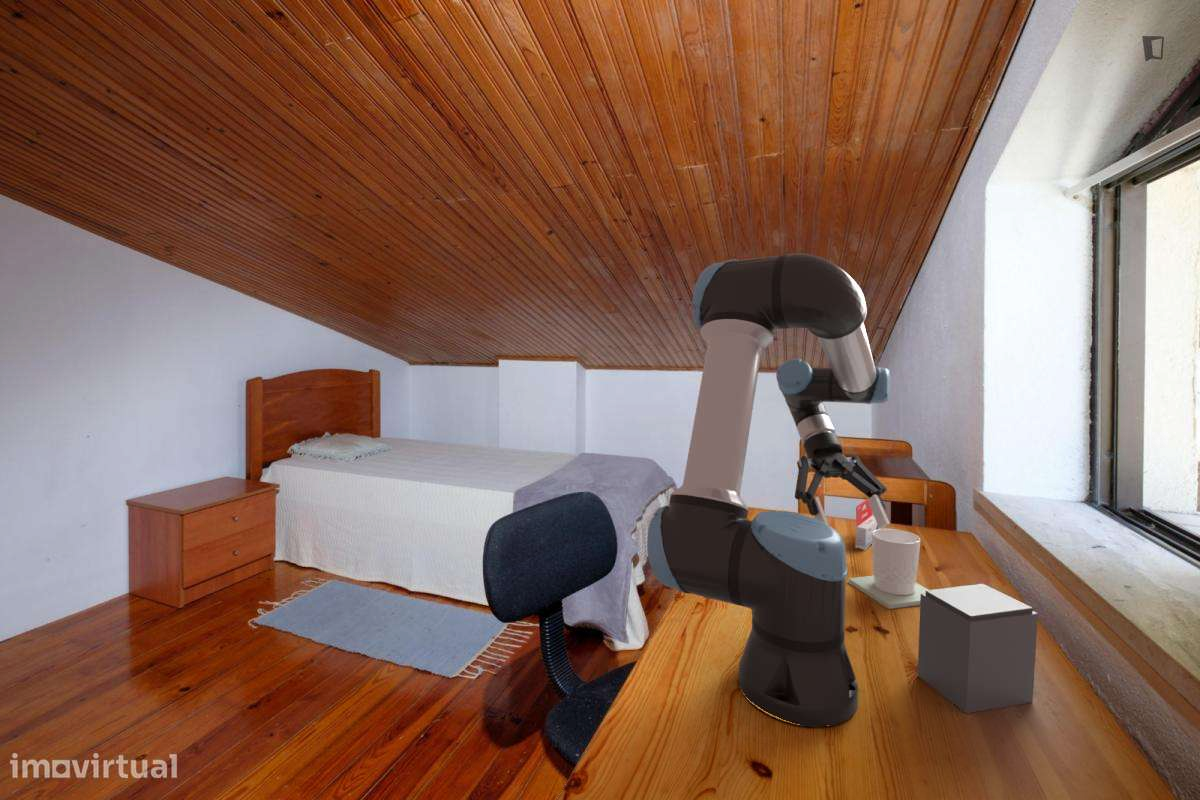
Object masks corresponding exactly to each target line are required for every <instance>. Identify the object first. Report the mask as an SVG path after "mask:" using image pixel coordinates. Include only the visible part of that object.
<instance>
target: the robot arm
mask: <svg viewBox="0 0 1200 800" xmlns="http://www.w3.org/2000/svg"><path fill="white" fill-rule="evenodd" d="M694 285H695V286H694V289H693V295H692V301H691V302H692V303H691V304H692V305H693V309H692V315H693V316H692V318H693V321H694V324H695V325H696V327H697V328H698V329H699V330H700V336H701V338H703V340H704V341H705V343H707V346H706V353H705V357H704V358H705V359H704V363H703V369H702V374H701V380H700V386H699V391H698V396H697V397H698V398H697V403H696V408H695V414H694V419H693V425H692V431H691V437H690V442H689V443H690V444H689V448H688V454H687V460H686V466H685V470H684V475H683V481H682V484H681V486H679V487H678V488H677V489H675V490H674V491H672V492H671V493H670V496H669V501H668V502H669V503H668V505H663V506H661V507H659V508H657V509H656V510H655V512H654V513H653V516H652V517H651V519H650V521H649V526H648V530H647V539H646V541H647V543H646V549H647V558H648V563H649V565H650V568H651V571H652V574H653V576H654V577H655V579H656V580H657V581H658V582H659V583H660V584H662V585H664V586H665V587H668V588H671V589H675V590H678V591H680V592H681V593H684V594H688V595H689V594H690V595H691V594H692V595H695V596H700V597H703V598H708V599H712V600H715V601H720V602H724V603H728V604H731V605H736V606H740V607H744V608H747V609H750V610H751V630H750V632H749V636H748V637H747V641H746V644H745V647H744V650H743V652H742V656H741V658H740V661H739V663H738V685H739V684H740V686H739V688H740V687H741V689H742V691H743V693H744V694H745V696H746V697H747V698H748V699H749V700H750V701H751V702H753V703H754V704H755V705H757V706H758V707H760V708H761V709H763V710H764V711H766V712H768V713H770V714H772V715H774V716H777V717H779V718H781V719H783V720H786V721H789V722H792V723H795V724H800V725H803V726H802V727H804V726H811V727H810V728H814V727H813V726H816V727H815V728H818V727H817V726H827V725H834V724H837V725H839V724H838V723H840V722H842V721H845V720H846V721H848V720H849V719H851V718H852V717H853V716H854V715H855V713H856V711H857V710H858V704H859V687H858V685H859V684H858V681H857V679H856V674H855V672H854V668H853V666H852V663H851V659H850V655H849V653H848V649H847V648H846V647H847V646H846V644H845V632H846V631H845V626H846V624H845V622H846V590H847V589H846V585H847V584H846V583H847V577H848V574H849V573H848V572H849V570H848V565H847V555H846V544H845V541H844V538H843V537H842V535H841V534H840V533H839V532H838V531H837V529H835V528H833V527H831V526H830V524H829V522H828V519H827V516H826V514H825V511H824V508H823V506H822V503H821V500H820V498H819V496H815V494H816V493H817V491H818V488H819V486H820V485H821V484H820V483H821V482H822V480H823V478H825V479H830V478H837V479H838V478H840V479H842V480H844V481H847V482H848V483H850V484H851V485H852V486H854V487H855V488H856V489H857V490H859V491H860V492H861V493H862V494H864V495H865V496H867V497H868V498H869V499H868V498H867V499H868V500H867V499H866V500H867V501H868V503H869V506H870V508H871V510H872V516H874V517H875V520H876V522H877V524H878V527H879V529H885V527H886V528H887V526H888V525H890V524H891V522H890V521H889V517H888V516H887V514H886V511H885V510H886V506H885V503H884V501H883V499H882V495H883V494H885V493H886V492H887V491H888V490H887V487H886V486H885V485H884V484H883V483H882V482H881V481H880V480H879V479H878V478H877V477H876V475H874V474H873V473H872V472H871V471H870V470H869V469H868V468H867V467H866V466H865V465H864V464H863V463H862V460H861V458H860V456H858V454H853V455H852V456H850V457H849V456H848V457H847V456H845V455H844V453H843V447H842V444H841V441H840V439H839V438H838V435H837V434H836V429H835V427H834V425H833V423H832V421H831V419H830V416H829V414H828V411H827V410H826V407H825V405H824V402H825V403H847V404H865V405H871V404H885V403H886V402H888V401H889V399H890V395H891V394H890V393H891V372H890V370H889V368H886V367H880V366H876V365H875V362H874V359H873V355H872V350H871V347H870V343H869V338H868V335H867V331H866V327H865V324H864V322H865V320H866V317H867V313H868V312H867V311H868V309H867V308H868V307H867V303H866V299H865V296H864V293H863V291H862V288H861V287H860V286H859V284H857V281H855V279H853V277H852V276H850V275H849V273H847V272H846V271H845V270H843V268H842V267H840V266H838V265H837V264H835V263H833V262H832V261H829V260H827V259H825V258H823V257H820V256H817V255H814V254H810V253H800V252H797V253H788V254H782V255H772V256H765V257H764V256H763V257H757V258H749V259H747V258H746V259H740V260H739V259H736V258H735V259H727V260H726V261H720V262H714V263H712V264H710V265H708V266H707V267H705V268H704V269H703V271H702V272H701V273H700V274H699V276H698V278H697V280H696V283H695V284H694ZM781 329H783V330H784V329H785V330H786V329H807V330H808V331H809V332H810V333H811V334H812V335H813V336H815V337H817V339H818V340H819V343H820V346H821V347H822V350H823V352H824V355H825V357H826V359H827V361H828V363H829V366H828V367H825V366H821V367H820V366H819V367H817V366H816V367H815V366H814V367H813V366H812V367H811V365H810V364H809V363H808V362H807V361H806V360H803V359H800V358H791V359H787V360H786V361H784V362H782V363H781V365H780V366H778V369H777V371H776V381H777V385H778V389H779V390H780V392H781V393H782V396H783V398H784V400H785V403H786V405H787V407H788V410H789V412H790V414H791V416H792V419H793V422H794V425H795V427H796V430H797V433H798V434H799V435H798V436H799V437H800V441H801V442H802V444H803V449H804V452H805V454H806V455H802V456H801V457H800V458H799V459H798V460H797V462H796V465H797V468H798V473H797V479H796V486H795V492H794V498H795V499H796V500H801V502H802V503H803V504H806V506H807V508H808V512H809V514H810V516H809V515H805V514H802V513H798V512H792V511H787V510H786V511H785V510H781V511H776V510H766V511H761V512H758V513H756V514H755V515H754V516H753V519H752V520H748V516H749V507H748V506H747V505H746V503H745V502H744V501H743V498H742V497H741V489H742V482H743V478H744V477H743V476H744V469H745V462H746V456H747V449H748V443H749V437H750V429H751V422H752V415H753V409H754V404H755V402H754V401H755V395H756V389H757V382H758V378H759V377H758V376H759V369H760V362H761V355H762V351H764V350H765V349H767V348H768V347H770V346H771V345H772V343H773V340H774V334H775V330H781ZM810 467H811V468H813V469H814V470H815V472H814V474H813V476H812V480H811V481H810V484H809V486H808V488H807V484H808V483H807V482H808V474H809V469H810ZM845 471H846V472H845ZM806 489H807V490H806ZM812 516H814V517H812ZM741 689H740V690H741ZM742 691H741V692H742ZM743 693H742V694H743ZM745 696H744V697H745ZM852 715H853V716H852ZM851 716H852V717H851ZM850 717H851V718H850ZM847 719H848V720H847ZM846 721H845V722H846ZM840 724H841V723H840ZM834 726H835V725H834Z"/></svg>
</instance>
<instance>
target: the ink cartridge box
mask: <svg viewBox="0 0 1200 800" xmlns="http://www.w3.org/2000/svg"><path fill="white" fill-rule="evenodd" d="M868 499H869V497H868V498H867V499H865V500H864V501H862V502H861V503H859V504H858V505H857V506H855V511H856V512H855V513H856V514H855V516H856V518H855V522H856V523H855V524H856V525H855V526H856V528H855V544H854V547H855V549H857V548H860V549H859V550H861V549H864V550H863V551H867V550H868V549H869V548H870V547H871V546H872V545H871V544H872V532H873V531H874V530H877V529H879V527H878V524H877V522H876V520H875V517H874V515H873V513H872V510H871V508H870V506H869V503H868V501H867V500H868ZM864 505H865V508H864ZM863 508H864V509H863ZM870 545H871V546H870ZM869 546H870V547H869ZM868 547H869V548H868ZM867 548H868V549H867ZM866 549H867V550H866Z"/></svg>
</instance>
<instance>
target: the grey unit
mask: <svg viewBox="0 0 1200 800" xmlns="http://www.w3.org/2000/svg"><path fill="white" fill-rule="evenodd" d="M919 606H920V607H919V627H918V628H919V630H918V655H917V656H918V657H917V677H919V679H921V680H922V681H923V682H925V683H926V684H927V685H929V686H930V687H931V688H932V689H933V690H935V691H936V692H937V693H938V694H940V695H941V696H943V697H944V698H945V699H947V700H948V701H949V702H950V703H952V704H953V705H954V704H955V705H956V707H957V706H958V707H959V708H960V709H959V708H958V707H957V708H958V709H959V710H961V711H962V712H963V711H964V712H965V713H964V714H966V713H968V714H970V713H969V712H974V713H978V712H977V711H979V712H984V711H990V710H989V709H991V710H996V708H997V709H1001V708H1008V707H1013V706H1018V705H1026V704H1031V703H1033V701H1034V700H1033V699H1034V685H1035V684H1034V683H1035V669H1036V667H1035V666H1036V655H1037V654H1036V652H1037V651H1036V650H1037V637H1038V636H1037V635H1038V621H1039V620H1038V619H1039V613H1037V612H1036V611H1034V610H1033V609H1034V608H1033V607H1032V606H1030V605H1028V604H1026V603H1023V602H1021V601H1019V600H1017V599H1015V598H1013V597H1011V596H1009V595H1007V594H1004V593H1003V592H1001V591H999V590H997V589H994V588H993V587H990V586H989V585H987V584H984V583H977V584H970V585H969V584H968V585H959V586H954V587H953V586H952V587H945V588H936V589H928V590H927V591H926V593H923V594H921V599H920V605H919ZM955 705H954V706H955Z"/></svg>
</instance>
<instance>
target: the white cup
mask: <svg viewBox="0 0 1200 800" xmlns="http://www.w3.org/2000/svg"><path fill="white" fill-rule="evenodd" d="M920 548H921V537H920V536H919V535H917V534H915V533H913V532H910V531H907V530H903V529H897V528H896V529H895V528H883V529H877V530H874V531H873V532H872V545H871V550H872V551H871V554H872V558H871V559H872V560H871V561H872V572H873V576H874V585H875V587H876V588H878V589H879V590H881V591H884V592H886V593H889V594H894V595H910V594H913V593H914V591H915V587H916V583H917V576H918V568H919V562H920V561H919V559H920V558H919V557H920V551H921V550H920Z"/></svg>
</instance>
